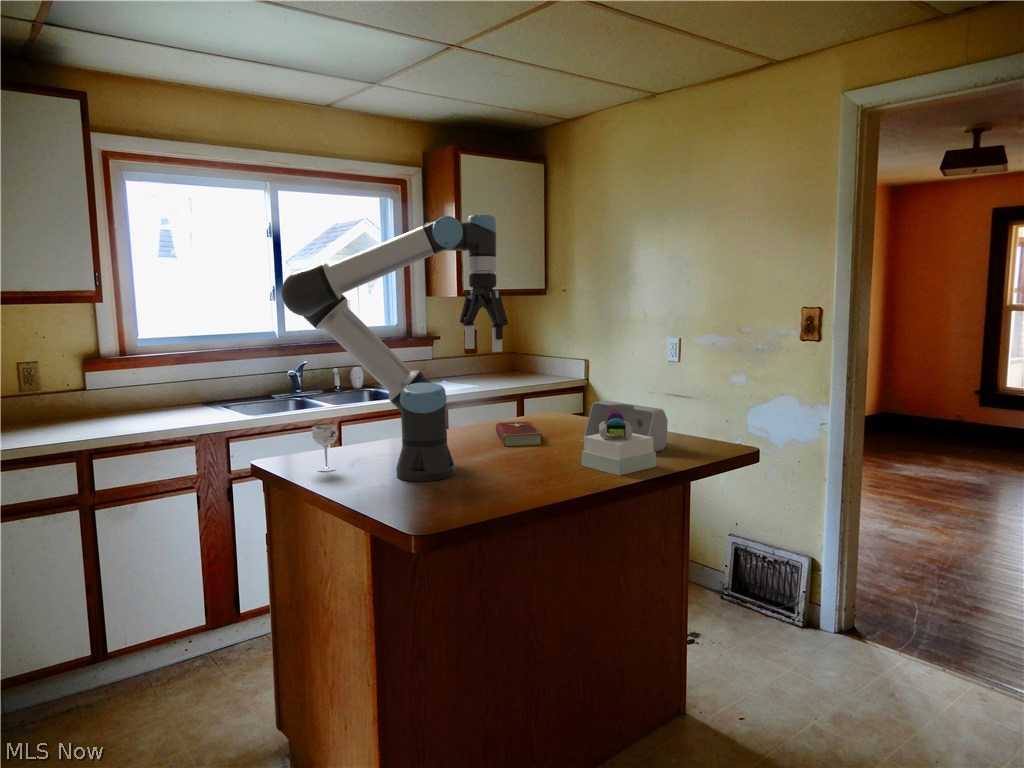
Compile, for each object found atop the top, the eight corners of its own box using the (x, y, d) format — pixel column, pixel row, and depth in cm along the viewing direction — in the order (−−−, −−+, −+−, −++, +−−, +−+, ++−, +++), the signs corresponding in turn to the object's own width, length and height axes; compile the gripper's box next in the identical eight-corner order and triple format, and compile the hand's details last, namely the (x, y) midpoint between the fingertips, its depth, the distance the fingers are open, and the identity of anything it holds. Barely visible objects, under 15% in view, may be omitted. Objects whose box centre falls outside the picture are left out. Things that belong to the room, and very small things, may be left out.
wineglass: (313, 474, 185) (311, 429, 183) (313, 468, 191) (311, 425, 190) (340, 471, 186) (337, 427, 185) (339, 466, 193) (337, 423, 191)
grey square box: (619, 475, 178) (619, 444, 177) (581, 465, 189) (581, 436, 188) (655, 466, 186) (656, 437, 185) (617, 457, 197) (617, 429, 196)
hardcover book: (503, 447, 215) (503, 434, 214) (495, 434, 235) (495, 421, 235) (541, 445, 216) (541, 432, 216) (530, 432, 237) (530, 420, 236)
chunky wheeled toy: (630, 433, 190) (630, 407, 189) (632, 441, 181) (632, 413, 180) (598, 433, 191) (598, 407, 190) (599, 441, 182) (599, 413, 181)
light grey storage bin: (679, 447, 209) (680, 406, 207) (643, 456, 199) (644, 413, 197) (617, 435, 228) (617, 397, 227) (582, 442, 218) (582, 403, 217)
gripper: (520, 271, 183) (520, 352, 186) (469, 274, 203) (470, 346, 206) (497, 271, 179) (497, 353, 181) (447, 273, 199) (448, 348, 201)
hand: (483, 350), depth 194 cm, fingers open, 13 cm apart
